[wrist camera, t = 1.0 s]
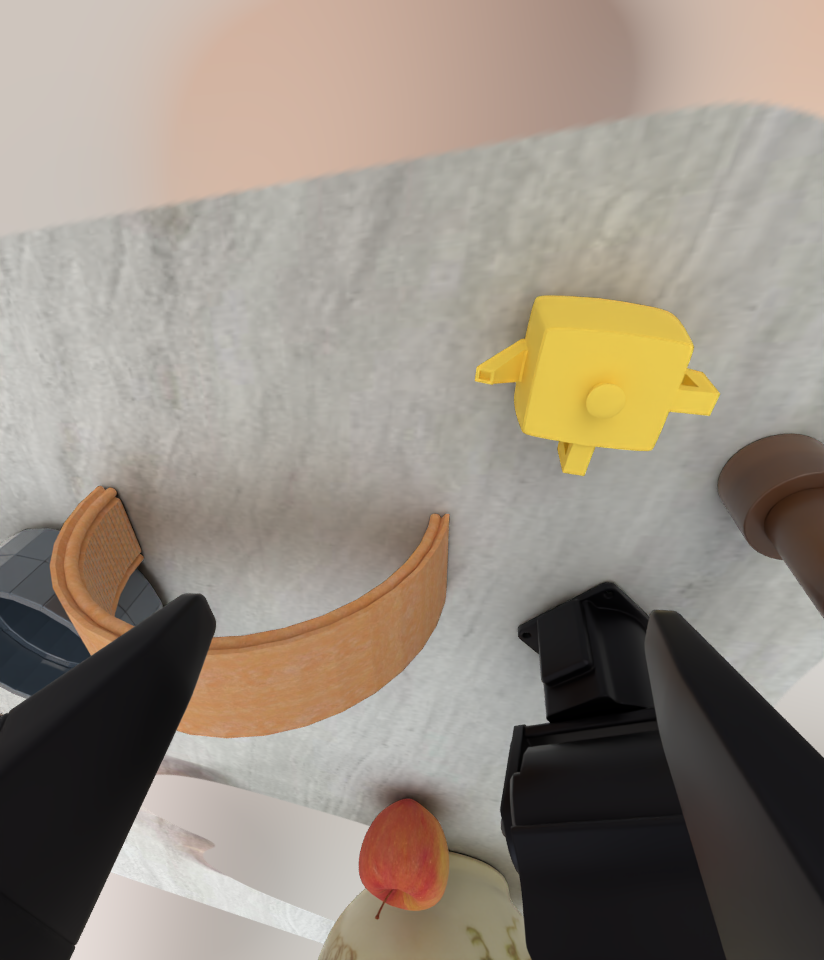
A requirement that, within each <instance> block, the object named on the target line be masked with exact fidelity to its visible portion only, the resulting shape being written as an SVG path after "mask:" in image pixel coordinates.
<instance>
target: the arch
mask: <svg viewBox="0 0 824 960" xmlns="http://www.w3.org/2000/svg"><path fill="white" fill-rule="evenodd" d="M116 495H117V492H116V490H114V489H113V488H108V489H107V490H105V489H104V488H103V487H102V486H98V487H97V488H96V489H95V490H94V491H92V492H91V493H90V494H89V495H88V496H87V497H86V498H85V499H84V500H83V501H82V502H80V503H79V505H78V506H77V507H76V508H75V510H74V511H73V512H72V514H71V515H70V516H69V518H68V519H67V520H66V521H65V523H64V525H63V527H62V529H61V531H60V533H59V535H58V537H57V539H56V541H55V543H54V546H53V552H52V557H51V562H50V572H51V579H52V586H53V589H54V591H55V593H56V595H57V597H58V598H59V600H60V602H61V604H62V606H63V608H64V609H65V611H66V613H67V615H68V616H69V618H70V620H71V622H72V623H73V625H74V627H75V629H76V630H77V632H78V634H79V636H80V637H81V639H82V641H83V642H84V644H85V646H86V648H87V649H88V651H89V653H90V655H93V654H94V653H96V652H97V651H99V650H100V649H102V648H103V647H105V646H106V645H108V644H109V643H111V642H112V641H114V640H115V639H117V638H118V637H120V636H121V635H123V634H124V633H126V632H127V631H128V630H130V629H131V628H133V627H134V626H133V625H130V624H128V623H126V622H124V621H122V620H120V619H118V618H116V617H115V612H116V608H117V605H118V601H119V597H120V594H121V593H122V591H123V589H124V587H125V585H126V583H127V581H128V579H129V577H130V576H131V574H132V573H133V572H134V571H135V569H136V568H137V567H138V565H139V564H140V563H141V562H142V560H143V559H144V557H143V556H142V555H141V554H140V552H141V548H140V546H139V544H138V541H137V539H136V536H135V534H134V531H133V529H132V527H131V524H130V522H129V519H128V517H127V514H126V512H125V510H124V507H123V505H122V502H121V500H120V499H118V498H116V497H115V496H116ZM448 537H449V514H445V515H444V516H443V517H442V518H441V517H440V515H438V514H432V515H431V516H430V521H429V526H428V528H427V530H426V532H425V534H424V536H423V538H422V541H421V543H420V544H419V546H418V547H417V548H416V550H415V551H414V552H413V554H412V555H411V556H410V557H409V559H408V560H407V561H406V563H405V564H403V565H402V566H401V567H400V568H399V569H398V570H397V571H396V572H394V573H393V574H392V575H391V576H390V577H389V578H388V579H387V580H386V581H384V582H383V583H382V584H380V585H378V586H377V587H375V588H374V589H372V590H371V591H369V592H368V593H366V594H365V595H363V596H361V597H360V598H358V599H357V600H355V601H353V602H351V603H349V604H346V605H344V606H342V607H340V608H338V609H336V610H334V611H332V612H329V613H327V614H325V615H323V616H320V617H317V618H314V619H311V620H308V621H305V622H301V623H298V624H295V625H292V626H289V627H286V628H281V629H276V630H271V631H266V632H260V633H255V634H250V635H245V636H229V637H213V639H212V642H211V644H210V647H209V650H208V653H207V656H206V659H205V661H204V664H203V667H202V670H201V673H200V675H199V678H198V681H197V684H196V687H195V689H194V692H193V694H192V697H191V699H190V702H189V704H188V706H187V709H186V711H185V713H184V715H183V717H182V719H181V722H180V724H179V726H178V728H177V731H180V732H183V733H187V734H190V735H200V736H210V737H220V738H236V737H250V736H264V735H270V734H275V733H279V732H283V731H288V730H292V729H296V728H301V727H305V726H308V725H310V724H313V723H315V722H318V721H321V720H323V719H326V718H328V717H331V716H333V715H336V714H338V713H341V712H343V711H345V710H347V709H348V708H350V707H352V706H354V705H355V704H357V703H359V702H361V701H362V700H364V699H366V698H368V697H369V696H371V695H373V694H375V693H376V692H377V691H378V690H380V689H381V688H382V687H383V686H385V685H386V684H387V683H388V682H390V681H391V680H392V679H393V678H395V677H396V676H397V675H398V674H400V673H401V672H402V671H403V670H404V669H405V668H406V667H407V665H408V664H409V663H410V662H411V661H412V660H413V659H414V658H415V656H416V655H417V654H418V653H419V652H420V651H421V650H422V649H423V647H424V645H425V644H426V642H427V641H428V639H429V637H430V636H431V634H432V632H433V631H434V629H435V627H436V626H437V623H438V621H439V618H440V615H441V612H442V609H443V606H444V604H445V598H446V588H447V563H448Z"/></svg>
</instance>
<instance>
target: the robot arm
mask: <svg viewBox="0 0 824 960" xmlns="http://www.w3.org/2000/svg"><path fill="white" fill-rule="evenodd" d="M607 591H611V592H607ZM215 629H216V620H215V617H214V615H213V613H212V611H211V609H210V607H209V604H208V602H207V600H206V598H205V597H204V596H203V595H202V594H191V593H186V594H182V595H180V596H179V597H177V598H176V599H174V600H173V601H171V602H170V603H168V604H167V605H165V606H164V607H163V608H161V609H160V610H158V611H157V612H155V613H154V614H152V615H151V616H149V617H148V618H146V619H145V620H143V621H142V622H140V623H139V624H137V625H136V626H134V627H133V628H131V629H130V630H128V631H127V632H126V633H124V634H123V635H121V636H120V637H118V638H117V639H115V640H114V641H112V642H111V643H109V644H108V645H106V646H105V647H103V648H102V649H100V650H99V651H97V652H96V653H94V654H93V655H91V656H90V657H88V658H87V659H86V660H84V661H83V662H81V663H80V664H78V665H77V666H75V667H74V668H72V669H71V670H69V671H68V672H66V673H65V674H63V675H62V676H60V677H59V678H57V679H56V680H54V681H53V682H51V683H50V684H48V685H47V686H46V687H44V688H43V689H41V690H40V691H38V692H37V693H35V694H34V695H32V696H31V697H29V698H28V699H26V700H25V701H23V702H22V703H20V704H19V705H17V706H16V707H14V708H13V709H11V710H10V712H9V714H8V713H6V714H4V715H2V716H1V717H0V960H70V958H71V956H72V953H73V952H74V950H75V946H74V945H76V944H77V942H78V940H79V938H80V936H81V934H82V932H83V929H84V927H85V925H86V923H87V921H88V919H89V917H90V914H91V912H92V910H93V908H94V906H95V904H96V902H97V900H98V897H99V895H100V893H101V891H102V889H103V887H104V884H105V882H106V880H107V878H108V876H109V874H110V872H111V870H112V867H113V865H114V863H115V861H116V859H117V857H118V854H119V852H120V850H121V848H122V846H123V844H124V842H125V839H126V837H127V835H128V833H129V831H130V829H131V827H132V824H133V822H134V820H135V818H136V816H137V814H138V812H139V809H140V807H141V805H142V803H143V801H144V799H145V796H146V794H147V792H148V790H149V788H150V786H151V784H152V782H153V779H154V777H155V775H156V773H157V771H158V769H159V767H160V764H161V762H162V760H163V758H164V756H165V754H166V752H167V749H168V747H169V745H170V743H171V741H172V739H173V737H174V734H175V732H176V730H177V728H178V726H179V724H180V722H181V719H182V717H183V715H184V713H185V711H186V709H187V706H188V704H189V702H190V699H191V697H192V694H193V692H194V689H195V687H196V684H197V681H198V678H199V675H200V673H201V670H202V667H203V664H204V661H205V659H206V656H207V653H208V650H209V647H210V644H211V642H212V639H213V636H214V633H215ZM526 632H527V633H526ZM518 637H519V638H520V639H521V640H522V641H523V642H524V643H526V644H527V645H528V646H529V647H531V648H532V649H533V650H534V651H535V652H537V653H538V654H539V657H540V670H541V680H542V682H543V683H544V693H545V706H546V718H547V720H548V721H549V722H550V723H545V724H538V725H531V726H526V725H518V726H514V730H513V737H512V741H511V745H510V751H509V757H508V763H507V770H506V776H505V782H504V788H503V794H502V801H501V807H500V812H501V817H502V819H501V830H502V833H503V835H504V836H505V837H506V841H507V846H508V850H509V853H510V856H511V859H512V862H513V864H514V866H515V869H516V871H517V872H518V874H519V876H520V883H521V891H522V901H523V914H524V927H525V941H526V947H527V950H528V953H529V955H530V957H531V960H824V758H823V757H822V756H821V755H820V754H819V753H818V752H817V751H816V750H815V749H814V748H813V747H812V746H811V745H810V744H809V743H808V742H807V741H806V740H805V739H804V738H803V737H802V736H801V735H800V734H799V733H798V732H797V731H796V730H795V729H794V728H793V727H792V726H791V725H790V724H789V723H788V722H787V721H786V720H785V719H784V718H783V717H782V716H781V715H780V714H779V713H778V712H777V711H776V710H775V709H774V708H773V707H772V706H771V705H770V704H769V703H768V702H767V701H766V700H765V699H764V698H763V697H762V696H761V695H760V694H759V693H758V692H757V691H756V690H755V689H754V688H753V687H752V686H751V685H750V684H749V683H748V682H747V681H746V680H745V679H744V678H743V677H742V676H741V675H740V674H739V673H738V672H737V671H736V670H735V669H734V668H733V667H732V666H731V665H730V664H729V663H728V662H727V661H726V660H725V659H724V658H723V657H722V656H721V655H720V654H719V653H718V652H717V651H716V650H715V649H714V648H713V647H712V646H711V645H710V644H709V643H708V642H707V641H706V640H705V639H704V638H703V637H702V636H701V635H700V634H699V633H698V632H697V631H696V630H695V629H694V628H693V627H692V626H691V625H690V624H689V623H688V622H687V621H686V620H685V619H684V618H683V617H682V616H681V615H680V614H679V613H677V612H676V611H667V610H654V611H652V612H651V614H650V617H649V616H648V615H647V614H646V613H645V612H644V611H643V610H642V609H640V608H639V607H638V606H637V605H636V604H635V603H634V602H633V601H632V600H631V599H630V598H629V597H628V596H627V595H626V594H625V593H624V592H623V591H622V590H621V589H620V588H619V587H617V586H616V585H615V584H614V583H610V582H607V583H603V584H600V585H599V586H597V587H595V588H593V589H591V590H589V591H587V592H585V593H583V594H581V595H579V596H577V597H575V598H573V599H571V600H569V601H567V602H565V603H563V604H561V605H559V606H558V607H556V608H554V609H552V610H550V611H548V612H546V613H544V614H542V615H540V616H538V617H536V618H534V619H532V620H530V621H528V622H526V623H524V624H522V625H521V626H519V627H518Z"/></svg>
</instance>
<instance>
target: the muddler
mask: <svg viewBox="0 0 824 960" xmlns="http://www.w3.org/2000/svg"><path fill="white" fill-rule="evenodd" d="M718 493H719V497H720V499H721V501H722V502H723V504H724V506H725V507H726V509H727V510H728V512H729V513H730V515H731V517H732V518H733V520H734V521H735V523H736V525H737V526H738V528H739V529H740V531H741V533H742V534H743V536H744V537H745V539H746V540H747V542H748V543H749V545H750V546H751V547H752V548H753V549H755V550H756V551H757V552H759V553H761V554H763V555H765V556H768V557H770V558H774V559H779V560H784V562H785V563H786V565H787V566H788V568H789V569H790V570H791V572H792V573H793V575H794V576H795V578H796V579H797V581H798V582H799V584H800V585H801V586H802V588H803V589H804V591H805V592H806V594H807V595H808V597H809V598H810V599H811V601H812V602H813V604H814V605H815V607H816V608H817V610H818V611H819V612H820V614H821V615H822V617H823V618H824V444H822V443H821V442H820V441H818V440H816V439H814V438H811V437H809V436H804V435H799V434H781V435H774V436H770V437H766V438H763V439H760V440H758V441H755V442H753V443H751V444H749V445H747V446H746V447H744V448H743V449H741V450H740V451H739V452H737V453H736V454H735V455H734V456H733V457H732V458H731V459H730V460H729V461H728V462H727V463H726V465H725V466H724V468H723V469H722V472H721V474H720V476H719V480H718Z"/></svg>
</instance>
